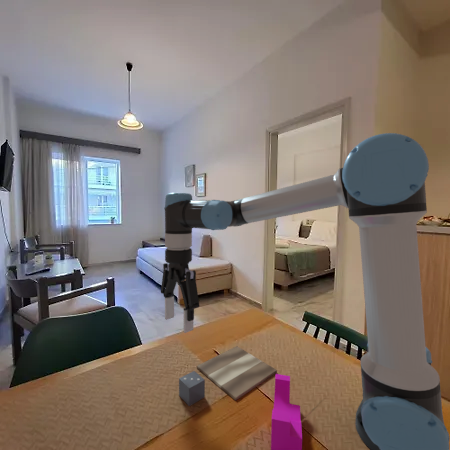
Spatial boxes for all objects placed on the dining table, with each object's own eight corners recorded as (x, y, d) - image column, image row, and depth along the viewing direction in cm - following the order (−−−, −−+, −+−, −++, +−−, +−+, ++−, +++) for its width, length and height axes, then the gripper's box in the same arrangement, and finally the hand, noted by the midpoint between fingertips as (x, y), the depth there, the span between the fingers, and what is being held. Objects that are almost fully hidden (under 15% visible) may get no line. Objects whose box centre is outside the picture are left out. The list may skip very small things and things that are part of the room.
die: (205, 397, 69) (205, 379, 69) (189, 406, 66) (189, 387, 65) (194, 387, 73) (194, 370, 72) (179, 395, 69) (179, 377, 69)
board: (276, 372, 80) (276, 369, 80) (235, 400, 68) (235, 397, 68) (236, 348, 93) (236, 346, 93) (196, 368, 81) (196, 365, 81)
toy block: (301, 459, 52) (302, 425, 52) (270, 451, 54) (271, 418, 53) (299, 404, 67) (299, 377, 66) (274, 400, 68) (275, 373, 68)
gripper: (213, 252, 66) (212, 334, 67) (170, 242, 83) (170, 309, 84) (189, 255, 61) (189, 344, 62) (148, 244, 78) (149, 315, 79)
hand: (178, 324), depth 73 cm, fingers open, 10 cm apart
